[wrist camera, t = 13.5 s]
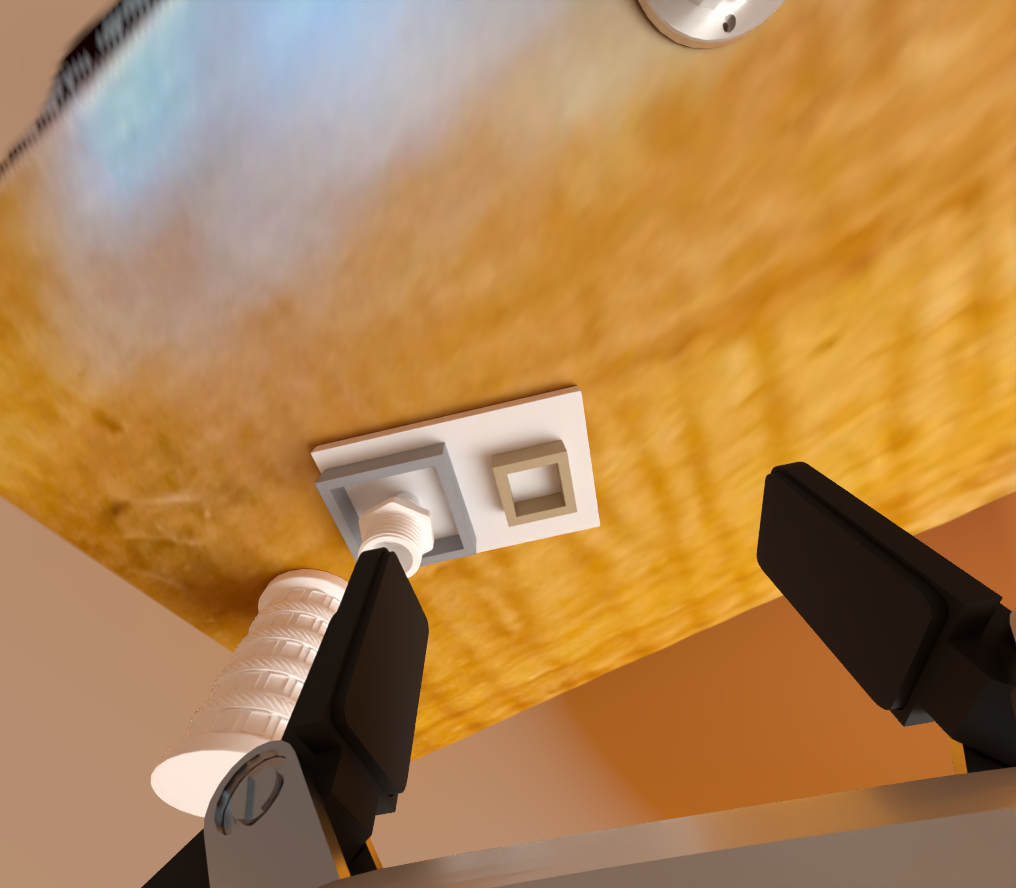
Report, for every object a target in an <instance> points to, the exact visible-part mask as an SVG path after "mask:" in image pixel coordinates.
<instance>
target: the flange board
mask: <svg viewBox="0 0 1016 888" xmlns="http://www.w3.org/2000/svg"><path fill="white" fill-rule="evenodd" d="M311 455H312V457H313V459H314V461H315V463H316V465H317V467H318V469H319V471H320V473H321V475H320V477H319V478H318V479H317V481H316V482H315V485H316V487H317V489H318V491H319V493H320V495H321V497H322V498H323V500H324V502H325V504H326V506H327V508H328V510H329V512H330V514H331V515H332V517H333V519H334V521H335V523H336V525H337V527H338V529H339V531H340V532H341V534H342V536H343V538H344V540H345V542H346V544H347V546H348V548H349V550H350V551H351V553H352V555H353V557H354V559H355V561H356V563H357V560H358V551H359V548H360V546H361V543H362V537H361V532H360V527H359V519H360V517H361V515H362V513H363V512H365V511H367V510H369V509H370V508H372V507H374V506H376V505H378V504H380V503H381V502H383V501H385V500H387V499H389V498H391V497H393V496H394V495H396V494H398V493H401V492H409V493H412V494H414V495H415V496H417V497H418V498H419V500H420V502H421V507H422V508H424V509H427V510H429V511H430V512H431V514H432V523H433V534H434V544H433V549H432V550H431V551H429V552H427V553H425V554H423V555H422V559H421V563H420V566H424V565H428V564H433V563H438V562H442V561H447V560H451V559H456V558H461V557H465V556H470V555H475V554H476V553H478V552H483V551H488V550H492V549H497V548H501V547H506V546H511V545H515V544H520V543H524V542H529V541H534V540H538V539H543V538H547V537H552V536H557V535H561V534H566V533H571V532H575V531H580V530H584V529H589V528H594V527H598V526H600V521H599V514H598V507H597V500H596V493H595V486H594V479H593V472H592V465H591V458H590V451H589V444H588V437H587V430H586V423H585V416H584V408H583V401H582V394H581V390H580V389H579V387H578V386H573V387H569V388H565V389H560V390H556V391H552V392H547V393H543V394H539V395H534V396H530V397H526V398H522V399H517V400H513V401H509V402H504V403H500V404H496V405H491V406H487V407H483V408H478V409H474V410H470V411H465V412H461V413H457V414H452V415H448V416H444V417H440V418H435V419H431V420H427V421H422V422H418V423H414V424H409V425H405V426H401V427H396V428H392V429H388V430H383V431H379V432H375V433H371V434H366V435H362V436H358V437H353V438H349V439H345V440H340V441H336V442H332V443H327V444H323V445H319V446H316V447H315V448H314V450H313V451H312V452H311Z"/></svg>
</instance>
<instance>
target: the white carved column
mask: <svg viewBox="0 0 1016 888" xmlns="http://www.w3.org/2000/svg"><path fill="white" fill-rule="evenodd" d="M347 585H348V582H347V581H345V580H344V579H342V578H341V577H339V576H336V575H334V574H332V573H329V572H325V571H320V570H316V569H299V570H293V571H288V572H286V573H283V574H281V575H278V576H277V577H276V578H274V579H273V580H272V581H270V582H269V584H268V586H267V587H266V589H265V590H264V592H263V593H262V595H261V596H260V598H259V603H258V611H259V613H258V616H257V617H255V620H254V621H252V625H251V626H250V628H249V633H248V635H247V636H245V637H244V638H243V639H242V641H241V643H240V644H238V648H235V652H234V653H233V656H232V659H231V663H230V665H228V666H227V667H226V668H225V669H224V670H223V671H222V674H221V675H219V676H218V677H219V678H218V680H215V682H216V683H215V684H214V685H213V688H212V692H211V696H210V698H209V699H208V700H207V701H206V702H204V703H203V704H202V706H201V707H200V708H199V711H196V712H195V716H194V717H192V721H191V722H190V724H189V727H188V733H187V735H186V736H185V738H183V739H180V740H178V741H177V742H176V743H174V744H173V745H171V746H170V747H169V748H168V749H167V751H166V753H165V754H164V755H163V757H162V759H161V760H160V762H159V763H158V765H157V767H156V768H155V770H154V771H153V773H152V774H151V786H152V788H153V790H154V791H155V793H156V795H158V796H159V797H160V798H161V799H162V800H163V801H164V802H166V803H167V804H169V805H171V806H173V807H175V808H177V809H178V810H181V811H184V812H187V813H190V814H193V815H196V816H201V817H205V814H206V811H207V808H208V805H209V802H210V800H211V798H212V796H213V794H214V792H215V791H216V789H217V787H218V785H219V783H220V782H221V781H222V779H223V778H224V777H225V776H226V774H227V773H228V772H229V770H230V769H231V768H232V767H233V766H234V765H235V764H236V763H237V762H238V761H239V760H240V759H241V758H242V757H243V756H244V755H246V754H247V753H249V752H250V751H252V750H253V749H254V748H256V747H257V746H260V745H262V744H264V743H267V742H269V741H277V740H281V738H282V736H283V734H284V731H285V729H286V726H287V724H288V721H289V719H290V717H291V714H292V712H293V709H294V707H295V704H296V702H297V700H298V697H299V695H300V692H301V690H302V687H303V685H304V683H305V680H306V678H307V675H308V673H309V670H310V668H311V666H312V663H313V661H314V658H315V656H316V653H317V651H318V649H319V646H320V644H321V641H322V639H323V637H324V634H325V632H326V629H327V627H328V624H329V622H330V620H331V618H332V616H333V615H334V614H335V613H336V612H337V610H338V607H339V605H340V602H341V600H342V597H343V595H344V592H345V590H346V587H347Z"/></svg>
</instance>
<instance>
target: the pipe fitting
mask: <svg viewBox="0 0 1016 888" xmlns="http://www.w3.org/2000/svg"><path fill="white" fill-rule="evenodd" d="M359 527H360V532H361V537H362V543H361V546H360V548H359V551H358V558H359V555H360V554H361V553H362V552H363V551H367V550H372V549H377V548H382V547H386V548H387V549H388V551H389V552H391V551H394V552H395V553H396V555H397V557H398V559H399V561H400V563H401V565H402V567H403V569H404V572H405V574H406V576H407V578H409V577H411V576H412V575H413V574H415V572H416V571H417V570H418V568H419V566H420V563H421V559H422V555H423V554H425V553H427V552H429V551H431V550H432V549H433V544H434V534H433V523H432V514H431V512H430V511H429V510H427V509H424V508H422V507H421V502H420V500H419V498H418V497H417V496H415V495H414V494H412V493H409V492H401V493H398V494H396V495H394V496H393V497H391V498H389V499H387V500H385V501H383V502H381V503H380V504H378V505H376V506H374V507H372V508H370V509H369V510H367V511H365V512H363V513H362V515H361V517H360V519H359Z"/></svg>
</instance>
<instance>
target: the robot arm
mask: <svg viewBox="0 0 1016 888" xmlns="http://www.w3.org/2000/svg"><path fill="white" fill-rule="evenodd" d="M638 2H639V3H640V5H641V7H642V9H643V10H644V12H645V14H646V15H647V17H648V19H649V20H650V21H651V22H652V23H653V24H654V25H655V26H656V27H657V29H658V30H659V31H660V32H661V33H663V34H664V35H666V36H667V37H669V38H670V39H672V40H673V41H675V42H677V43H679V44H682V45H685V46H688V47H691V48H705V49H709V48H714V47H719V46H724V45H727V44H730V43H732V42H734V41H736V40H738V39H741V38H743V37H744V36H746V35H747V34H749V33H750V32H751V31H753V30H754V29H756V28H757V27H758V26H760V25H761V24H762V23H763V22H764V21H765V20H767V19H768V18H769V17H770V16H771V15H772V14H773V13H775V12H776V11H777V10H778V9H779V7H780V6H781V5H782V4H783V3H784V2H785V0H638ZM723 27H724V29H725V31H724V30H723ZM757 560H758V563H759V565H760V567H761V569H762V570H763V571H764V573H765V574H766V575H767V576H768V577H769V578H770V580H771V581H772V582H773V583H774V584H775V585H776V587H777V588H778V589H779V590H780V591H781V593H782V594H783V595H784V596H785V597H786V598H787V600H789V602H790V603H791V604H792V606H793V607H794V608H795V609H796V610H797V611H798V612H799V614H800V615H801V616H802V617H803V618H804V620H805V621H806V622H807V623H808V624H809V625H810V627H811V628H812V629H813V630H814V631H815V633H816V634H817V635H818V636H819V637H820V638H821V640H822V641H823V642H824V643H825V644H826V646H827V647H828V648H829V649H830V650H831V651H832V653H833V654H834V655H835V656H836V657H837V658H838V660H839V661H840V662H841V663H842V664H843V666H844V667H845V668H846V669H847V670H848V671H849V673H850V674H851V675H852V676H853V677H854V679H855V680H856V681H857V682H858V683H859V684H860V686H861V687H862V688H863V689H864V690H865V691H866V693H867V694H868V695H869V696H870V697H871V699H872V700H873V701H874V702H875V703H876V704H877V705H879V706H880V707H881V708H883V709H885V710H890V711H891V712H892V713H893V714H894V716H895V717H896V718H897V719H898V721H899V722H900V723H901V724H902V725H903V726H904V727H905V726H911V725H917V724H923V723H928V722H933V721H935V722H936V723H937V724H938V725H939V726H940V727H941V728H942V729H943V730H944V731H945V732H946V733H947V734H948V736H949V743H950V750H951V756H952V763H953V770H954V775H951V776H944V777H936V778H930V779H924V780H916V781H910V782H904V783H897V784H891V785H885V786H878V787H872V788H865V789H858V790H852V791H846V792H839V793H832V794H826V795H820V796H813V797H807V798H800V799H794V800H787V801H781V802H775V803H769V804H762V805H757V806H750V807H744V808H737V809H731V810H724V811H718V812H712V813H706V814H699V815H693V816H688V817H681V818H675V819H669V820H663V821H656V822H650V823H644V824H637V825H631V826H625V827H619V828H613V829H606V830H601V831H594V832H588V833H582V834H576V835H570V836H564V837H558V838H552V839H546V840H540V841H534V842H528V843H522V844H516V845H510V846H505V847H498V848H492V849H486V850H480V851H474V852H468V853H463V854H457V855H452V856H446V857H441V858H436V859H431V860H425V861H420V862H415V863H410V864H404V865H399V866H394V867H388V868H383V867H382V864H381V862H380V860H379V857H378V855H377V853H376V850H375V848H374V846H373V844H372V841H371V839H370V836H371V835H372V831H373V825H374V820H375V815H380V814H386V813H392V812H395V810H396V804H397V797H398V793H402V792H403V791H404V789H405V787H406V783H407V778H408V771H409V764H410V757H411V751H412V744H413V737H414V730H415V723H416V716H417V709H418V703H419V696H420V689H421V682H422V675H423V668H424V662H425V655H426V648H427V641H428V633H429V627H428V621H427V618H426V616H425V614H424V612H423V610H422V608H421V606H420V603H419V601H418V599H417V597H416V595H415V593H414V591H413V589H412V586H411V584H410V582H409V580H408V578H407V576H406V574H405V572H404V569H403V567H402V565H401V563H400V561H399V559H398V557H397V555H396V553H395V552H394V551H391V552H389V551H388V549H387V548H386V547H382V548H377V549H372V550H367V551H363V552H362V553H361V554H360V555H359V558H358V560H357V563H356V565H355V568H354V570H353V573H352V575H351V578H350V580H349V582H348V585H347V587H346V590H345V592H344V595H343V597H342V600H341V602H340V605H339V607H338V610H337V612H336V613H335V614H334V615H333V616H332V618H331V620H330V622H329V624H328V627H327V629H326V632H325V634H324V637H323V639H322V641H321V644H320V646H319V649H318V651H317V653H316V656H315V658H314V661H313V663H312V666H311V668H310V670H309V673H308V675H307V678H306V680H305V683H304V685H303V687H302V690H301V692H300V695H299V697H298V700H297V702H296V704H295V707H294V709H293V712H292V714H291V717H290V719H289V721H288V724H287V726H286V729H285V731H284V734H283V736H282V738H281V740H277V741H269V742H267V743H264V744H262V745H260V746H257V747H256V748H254V749H253V750H252V751H250V752H249V753H247V754H246V755H244V756H243V757H242V758H241V759H240V760H239V761H238V762H237V763H236V764H235V765H234V766H233V767H232V768H231V769H230V770H229V772H228V773H227V774H226V776H225V777H224V778H223V779H222V781H221V782H220V783H219V785H218V787H217V789H216V791H215V792H214V794H213V796H212V798H211V800H210V802H209V805H208V808H207V811H206V814H205V819H204V829H203V830H201V831H200V832H199V833H198V834H197V835H196V836H195V837H194V838H193V839H192V840H191V841H190V842H189V843H188V844H187V845H186V846H185V847H184V848H182V850H180V851H179V852H178V853H177V854H176V855H175V856H174V857H173V858H172V859H171V860H170V861H169V862H168V863H167V864H166V865H165V866H164V867H163V868H161V869H160V870H159V871H158V872H157V873H156V874H155V875H154V876H153V877H152V878H151V879H150V880H149V881H148V882H147V883H146V884H145V885H144V886H143V887H141V888H1016V608H1015V609H1014V611H1010V610H1009V609H1007V608H1006V607H1005V606H1003V605H1002V604H1000V601H1001V599H1002V597H1001V596H1000V595H998V594H997V593H995V592H994V591H993V590H991V589H990V588H988V587H986V586H985V585H984V584H982V583H981V582H979V581H978V580H976V579H975V578H973V577H972V576H971V575H969V574H968V573H966V572H965V571H963V570H962V569H960V568H959V567H957V566H956V565H954V564H953V563H952V562H950V561H948V560H947V559H946V558H944V557H943V556H941V555H940V554H938V553H937V552H935V551H934V550H933V549H931V548H930V547H928V546H927V545H925V544H924V543H922V542H921V541H919V540H918V539H916V538H915V537H914V536H912V535H911V534H909V533H908V532H906V531H905V530H903V529H902V528H900V527H899V526H897V525H896V524H894V523H893V522H892V521H890V520H889V519H887V518H886V517H884V516H883V515H881V514H880V513H878V512H877V511H875V510H874V509H873V508H871V507H870V506H868V505H867V504H865V503H864V502H862V501H861V500H859V499H858V498H856V497H855V496H854V495H852V494H851V493H849V492H848V491H846V490H845V489H843V488H842V487H840V486H839V485H837V484H836V483H835V482H833V481H832V480H830V479H829V478H827V477H826V476H824V475H823V474H821V473H820V472H818V471H817V470H815V469H814V468H813V467H811V466H810V465H808V464H806V463H804V462H795V463H790V464H785V465H780V466H776V467H774V468H773V469H772V471H771V474H768V475H767V476H766V479H765V487H764V496H763V504H762V513H761V521H760V530H759V539H758V547H757Z"/></svg>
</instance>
